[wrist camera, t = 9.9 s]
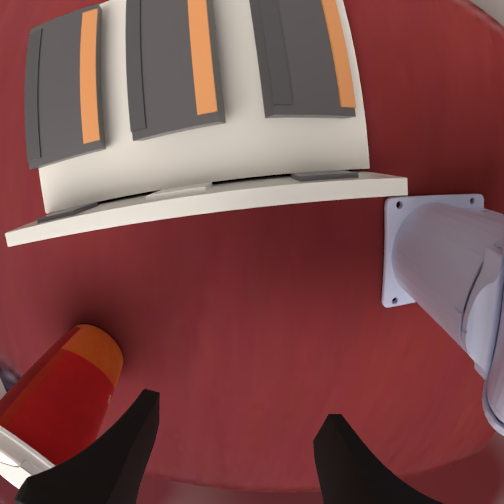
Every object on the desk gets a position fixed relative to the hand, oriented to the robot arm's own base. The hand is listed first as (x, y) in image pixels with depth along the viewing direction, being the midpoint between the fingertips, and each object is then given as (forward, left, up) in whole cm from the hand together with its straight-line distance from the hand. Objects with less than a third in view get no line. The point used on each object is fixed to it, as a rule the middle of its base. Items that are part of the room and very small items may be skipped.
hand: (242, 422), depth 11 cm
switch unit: (+2, -16, -10) cm, 19 cm away
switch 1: (+9, -17, -7) cm, 20 cm away
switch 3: (-5, -17, -7) cm, 19 cm away
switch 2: (+2, -17, -7) cm, 19 cm away
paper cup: (+13, +3, -10) cm, 17 cm away
